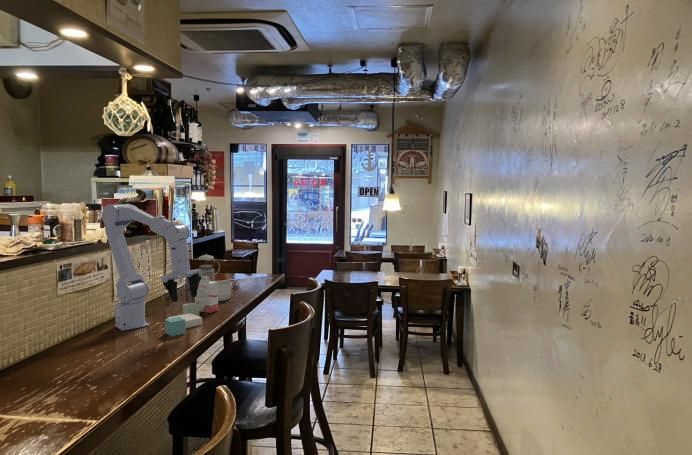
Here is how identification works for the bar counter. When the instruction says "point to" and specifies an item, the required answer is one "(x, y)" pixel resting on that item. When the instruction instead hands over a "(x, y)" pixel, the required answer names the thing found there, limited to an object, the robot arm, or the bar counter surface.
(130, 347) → the bar counter surface
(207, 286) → the ink cartridge box
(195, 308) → the sage block
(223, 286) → the ramekin
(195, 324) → the cream slab
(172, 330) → the teal cube
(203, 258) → the french press
